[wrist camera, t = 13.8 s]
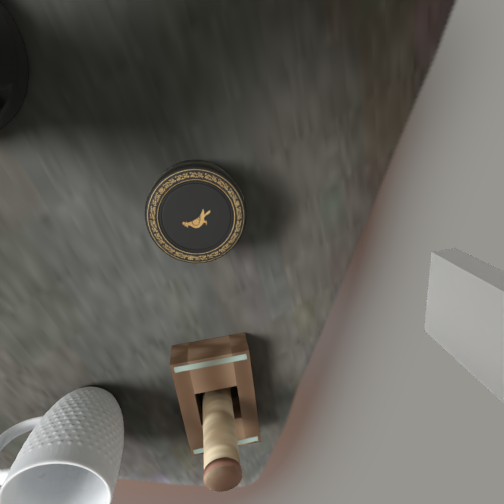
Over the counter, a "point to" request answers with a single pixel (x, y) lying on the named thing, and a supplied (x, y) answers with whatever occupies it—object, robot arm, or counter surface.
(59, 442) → the mug
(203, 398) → the dowel
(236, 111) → the counter surface
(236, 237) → the jar
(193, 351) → the socket board
